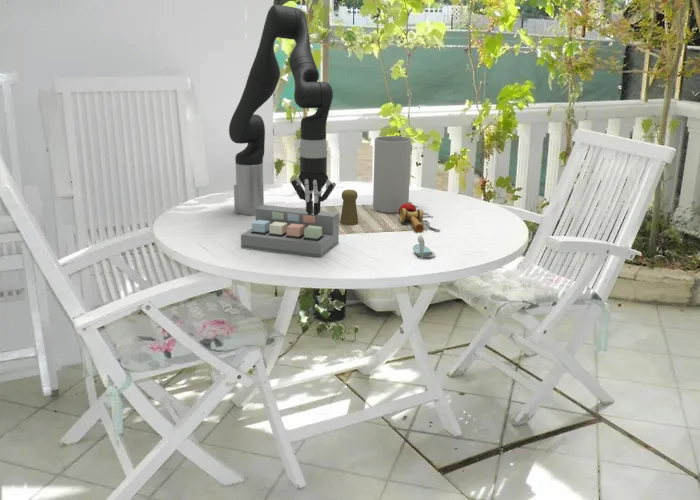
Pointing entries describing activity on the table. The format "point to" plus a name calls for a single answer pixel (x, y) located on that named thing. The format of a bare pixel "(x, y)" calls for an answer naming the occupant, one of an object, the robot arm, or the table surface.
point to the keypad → (292, 245)
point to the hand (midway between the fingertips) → (313, 214)
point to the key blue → (261, 227)
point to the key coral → (295, 231)
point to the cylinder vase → (391, 173)
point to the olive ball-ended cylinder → (349, 208)
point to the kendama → (411, 216)
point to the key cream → (278, 229)
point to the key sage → (313, 233)
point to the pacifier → (422, 248)
